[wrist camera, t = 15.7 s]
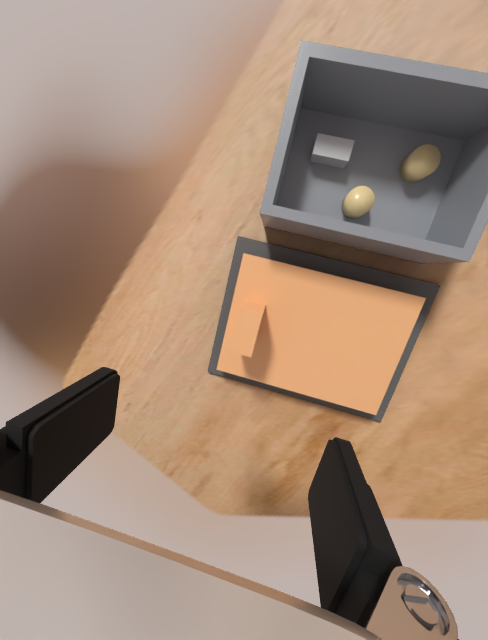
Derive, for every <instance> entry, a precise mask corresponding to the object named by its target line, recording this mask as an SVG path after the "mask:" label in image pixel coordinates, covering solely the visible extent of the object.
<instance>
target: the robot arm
mask: <svg viewBox="0 0 488 640" xmlns="http://www.w3.org/2000/svg"><path fill="white" fill-rule="evenodd" d="M119 382H120V376H119V375H118V373H117V371H116V370H113V369H109V368H106V367H102V368H100V369H98V370H96V371H95V372H93V373H91V374H89V375H88V376H86V377H84V378H82V379H81V380H79V381H77V382H75V383H74V384H72V385H70V386H68V387H67V388H65V389H63V390H61V391H60V392H58V393H56V394H55V395H53V396H51V397H49V398H48V399H46V400H44V401H42V402H40V403H39V404H37V405H35V406H33V407H32V408H30V409H29V410H26V411H25V412H23V413H21V414H19V415H18V416H16V417H14V418H12V419H11V420H9V421H7V422H6V426H5V427H3V428H2V429H0V640H459V639H458V631H457V624H456V622H455V619H454V616H453V613H452V612H451V610H450V608H449V606H448V604H447V602H446V601H445V600H444V598H443V597H442V596H441V594H440V593H439V592H438V590H437V589H436V588H435V587H434V586H433V585H432V584H431V583H430V582H429V581H428V580H427V579H426V578H424V577H423V576H422V575H421V574H419V573H418V572H416V571H414V570H413V569H411V568H408V567H404V566H402V563H401V561H400V558H399V556H398V553H397V551H396V548H395V546H394V543H393V541H392V538H391V536H390V534H389V531H388V529H387V526H386V524H385V521H384V519H383V516H382V514H381V511H380V509H379V506H378V504H377V502H376V499H375V497H374V494H373V492H372V489H371V488H370V486H369V485H368V484H367V483H366V480H365V478H364V475H363V473H362V470H361V468H360V465H359V463H358V460H357V458H356V455H355V452H354V450H353V447H352V445H351V443H350V442H349V441H346V440H343V439H340V438H336V437H335V438H334V439H333V440H329V441H328V443H327V445H326V448H325V451H324V453H323V456H322V458H321V461H320V463H319V466H318V468H317V471H316V474H315V476H314V479H313V481H312V484H311V486H310V489H309V494H308V502H309V510H310V518H311V526H312V535H313V543H314V552H315V561H316V569H317V577H318V586H319V594H320V603H321V608H320V607H318V606H315V605H313V604H310V603H308V602H305V601H303V600H300V599H298V598H295V597H293V596H290V595H288V594H285V593H283V592H280V591H277V590H275V589H272V588H270V587H267V586H264V585H262V584H259V583H256V582H253V581H251V580H248V579H245V578H243V577H240V576H237V575H235V574H232V573H229V572H227V571H224V570H221V569H219V568H216V567H213V566H210V565H208V564H205V563H203V562H200V561H197V560H195V559H192V558H189V557H186V556H184V555H181V554H178V553H175V552H172V551H170V550H167V549H164V548H162V547H159V546H156V545H154V544H151V543H148V542H145V541H143V540H140V539H137V538H134V537H132V536H129V535H126V534H123V533H121V532H118V531H115V530H113V529H110V528H107V527H104V526H101V525H99V524H96V523H93V522H90V521H87V520H85V519H82V518H79V517H76V516H73V515H71V514H68V513H65V512H62V511H59V510H57V509H54V508H51V507H48V506H45V505H43V504H40V503H41V502H42V501H43V500H44V499H45V498H46V497H47V496H48V495H49V494H50V493H51V492H52V491H53V490H54V489H55V488H56V487H57V486H58V485H59V484H60V483H61V482H62V481H63V480H64V479H65V478H66V477H67V476H68V475H69V474H70V473H71V472H72V471H73V470H74V469H75V468H76V467H77V466H78V465H79V464H80V463H81V462H82V461H83V460H84V459H85V458H86V457H87V456H88V455H89V454H90V453H91V452H92V451H93V450H94V449H95V448H96V447H97V446H98V445H99V444H100V443H101V442H102V441H103V440H104V439H105V438H106V437H107V436H108V435H109V434H110V433H111V432H112V430H113V428H114V423H115V415H116V407H117V399H118V390H119Z"/></svg>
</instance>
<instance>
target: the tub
mask: <svg viewBox="0 0 488 640" xmlns="http://www.w3.org/2000/svg"><path fill="white" fill-rule="evenodd" d="M260 215H261V218H262V221H263V224H264V226H265V227H270V228H274V229H278V230H282V231H286V232H291V233H295V234H299V235H303V236H308V237H312V238H316V239H320V240H324V241H329V242H333V243H337V244H341V245H346V246H350V247H354V248H358V249H362V250H367V251H371V252H375V253H379V254H384V255H388V256H392V257H396V258H400V259H405V260H409V261H413V262H417V263H446V262H470V259H471V257H472V255H473V253H474V251H475V249H476V246H477V244H478V242H479V240H480V238H481V235H482V233H483V231H484V229H485V227H486V224H487V222H488V73H484V72H478V71H473V70H467V69H461V68H456V67H450V66H444V65H439V64H433V63H427V62H421V61H416V60H410V59H404V58H399V57H393V56H387V55H382V54H376V53H370V52H365V51H359V50H353V49H348V48H342V47H336V46H331V45H325V44H319V43H314V42H308V41H302V40H301V43H300V47H299V51H298V56H297V60H296V64H295V68H294V72H293V77H292V81H291V85H290V89H289V93H288V97H287V102H286V106H285V110H284V114H283V118H282V123H281V127H280V131H279V135H278V139H277V144H276V148H275V152H274V156H273V160H272V165H271V169H270V173H269V177H268V181H267V185H266V190H265V194H264V198H263V202H262V206H261V211H260Z"/></svg>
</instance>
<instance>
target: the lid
mask: <svg viewBox="0 0 488 640" xmlns="http://www.w3.org/2000/svg"><path fill="white" fill-rule="evenodd" d="M425 300H426V298H423V297H419V296H415V295H411V294H407V293H403V292H399V291H395V290H391V289H387V288H383V287H379V286H375V285H371V284H367V283H363V282H359V281H355V280H351V279H347V278H343V277H338V276H334V275H330V274H326V273H322V272H318V271H314V270H310V269H306V268H302V267H298V266H294V265H290V264H286V263H282V262H278V261H274V260H270V259H266V258H262V257H258V256H253V255H249V254H245V253H243V257H242V262H241V266H240V270H239V275H238V279H237V283H236V287H235V292H234V296H233V300H232V305H231V309H230V313H229V318H228V322H227V326H226V331H225V335H224V339H223V343H222V348H221V352H220V356H219V361H218V365H217V369H216V370H220V371H223V372H227V373H230V374H234V375H237V376H241V377H244V378H248V379H251V380H255V381H258V382H262V383H265V384H269V385H272V386H276V387H279V388H283V389H286V390H290V391H293V392H296V393H300V394H303V395H307V396H310V397H314V398H317V399H321V400H324V401H328V402H331V403H335V404H338V405H342V406H345V407H349V408H352V409H356V410H359V411H363V412H366V413H370V414H373V415H376V414H377V412H378V409H379V407H380V405H381V402H382V400H383V398H384V395H385V393H386V391H387V388H388V386H389V384H390V381H391V379H392V377H393V374H394V372H395V370H396V367H397V365H398V363H399V360H400V358H401V356H402V353H403V351H404V349H405V346H406V344H407V342H408V339H409V337H410V335H411V332H412V330H413V328H414V325H415V323H416V321H417V318H418V316H419V314H420V311H421V309H422V307H423V304H424V302H425Z"/></svg>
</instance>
